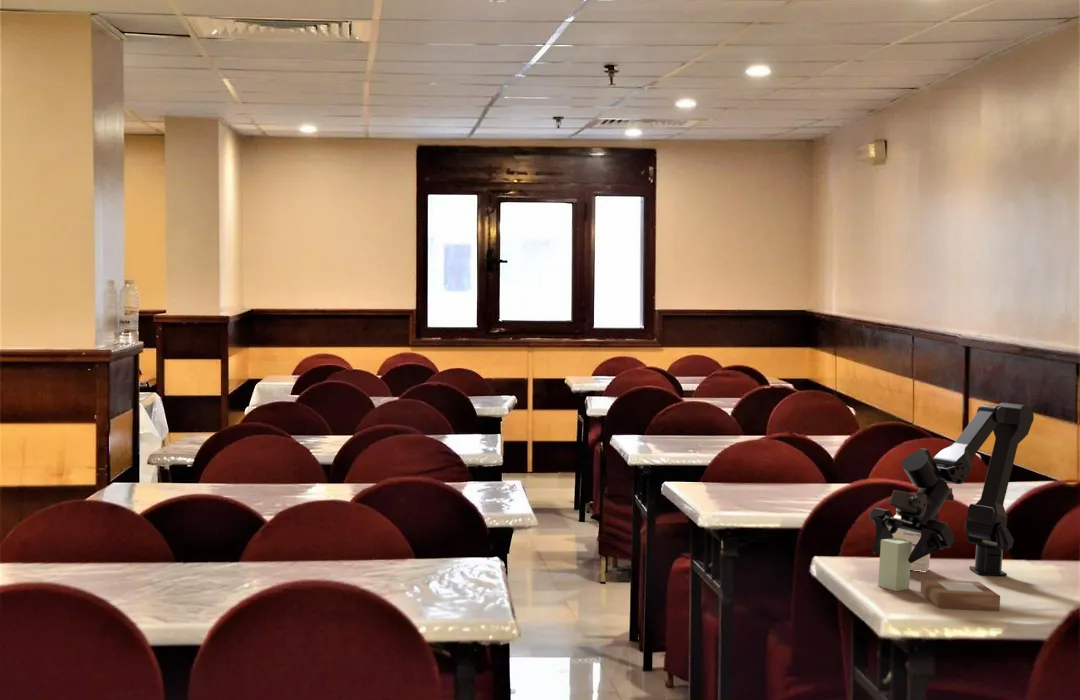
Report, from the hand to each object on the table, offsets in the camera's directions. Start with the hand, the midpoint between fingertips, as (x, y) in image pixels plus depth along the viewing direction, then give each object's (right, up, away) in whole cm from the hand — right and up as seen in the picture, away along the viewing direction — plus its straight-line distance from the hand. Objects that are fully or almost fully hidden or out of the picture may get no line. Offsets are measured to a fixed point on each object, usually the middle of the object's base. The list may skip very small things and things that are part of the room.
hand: (891, 557), depth 256 cm
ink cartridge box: (+10, -6, +21) cm, 24 cm away
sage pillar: (+1, -7, +1) cm, 7 cm away
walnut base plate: (+11, -8, -9) cm, 16 cm away
